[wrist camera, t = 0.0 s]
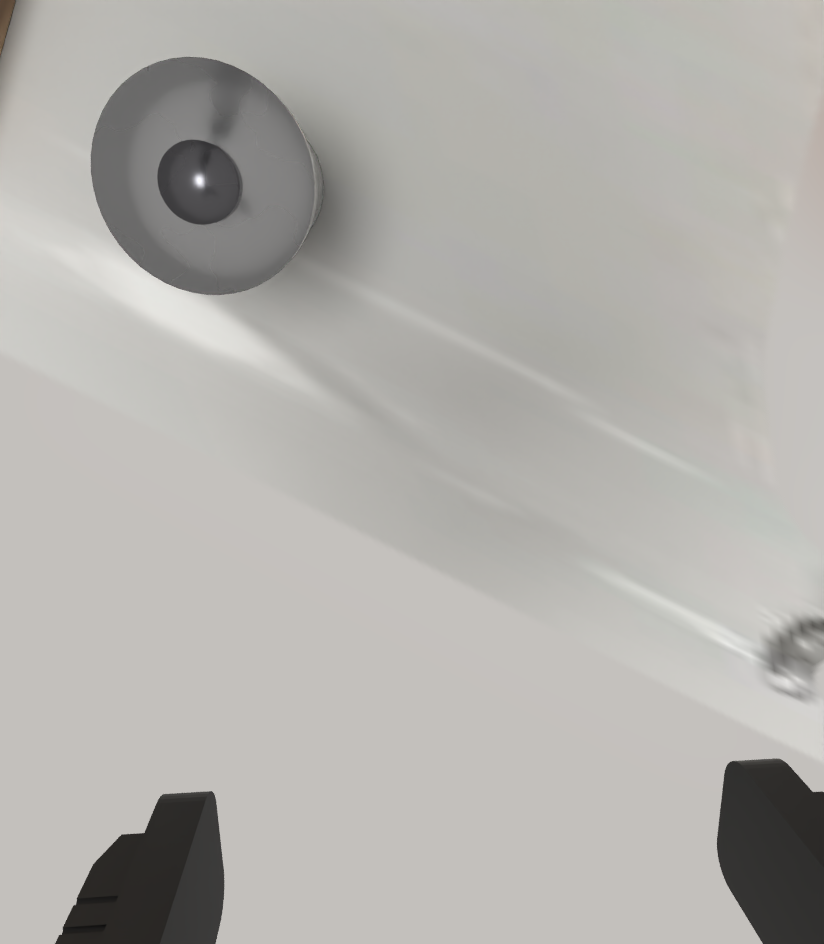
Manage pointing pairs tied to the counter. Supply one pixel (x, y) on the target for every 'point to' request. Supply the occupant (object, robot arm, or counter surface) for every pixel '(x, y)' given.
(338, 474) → the counter surface
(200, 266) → the grey lidded canister
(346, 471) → the counter surface
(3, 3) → the stand
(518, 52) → the counter surface
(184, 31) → the counter surface
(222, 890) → the robot arm
